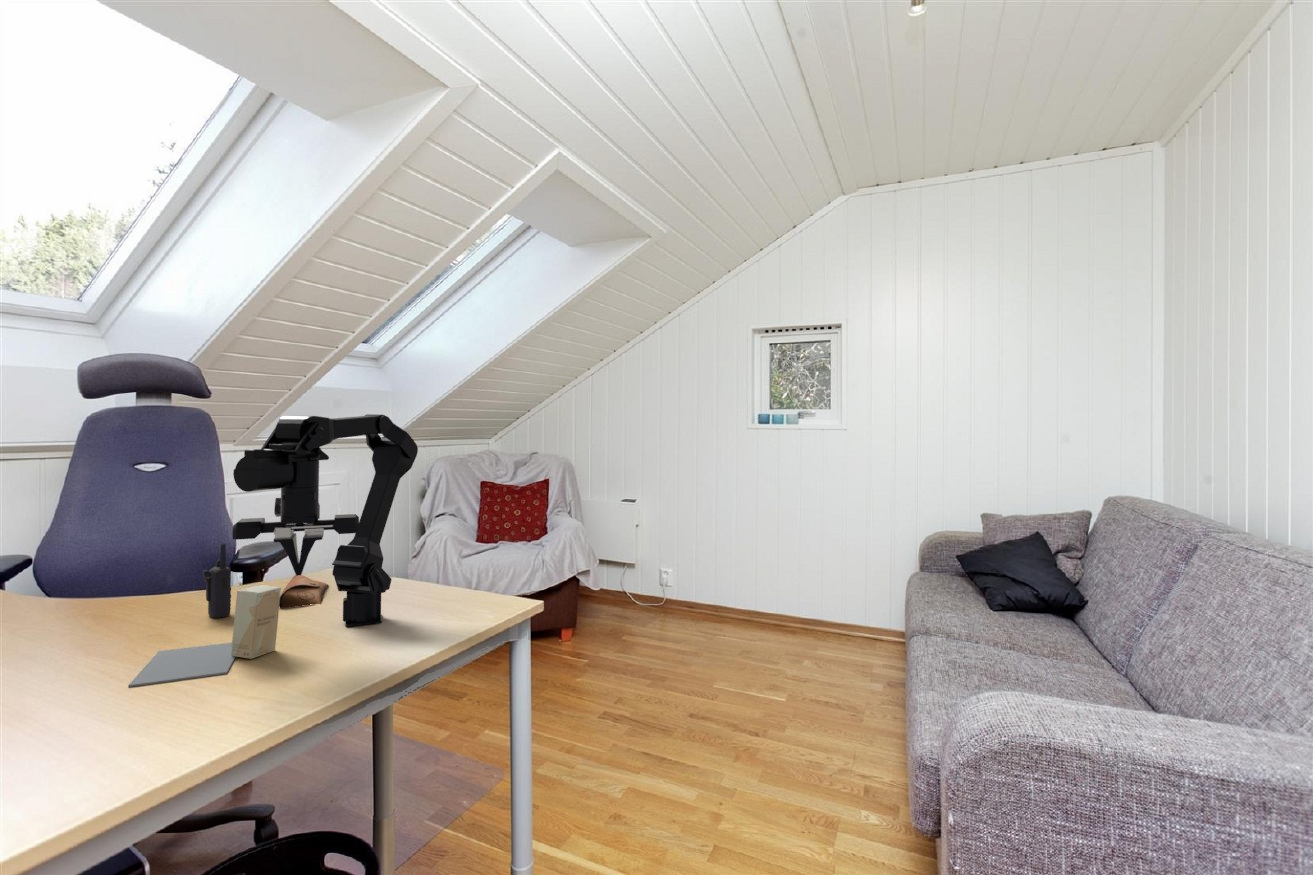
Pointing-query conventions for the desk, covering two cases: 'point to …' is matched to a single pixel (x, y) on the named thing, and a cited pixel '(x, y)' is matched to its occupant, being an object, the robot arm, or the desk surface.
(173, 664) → the felt pad
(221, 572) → the two-way radio
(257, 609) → the box
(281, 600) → the sunglasses case
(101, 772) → the desk surface
